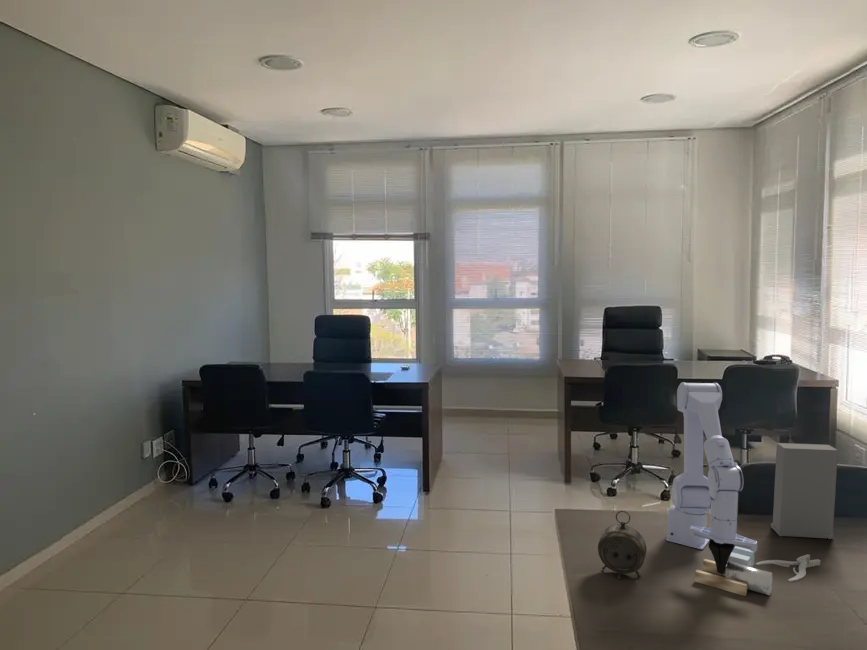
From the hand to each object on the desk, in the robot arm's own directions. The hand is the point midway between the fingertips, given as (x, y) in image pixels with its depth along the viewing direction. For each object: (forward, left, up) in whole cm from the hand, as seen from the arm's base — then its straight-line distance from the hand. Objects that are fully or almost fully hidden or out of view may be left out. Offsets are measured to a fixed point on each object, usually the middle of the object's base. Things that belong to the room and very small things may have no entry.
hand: (721, 571), depth 149 cm
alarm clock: (-20, -12, -2) cm, 23 cm away
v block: (0, +10, -2) cm, 10 cm away
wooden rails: (+1, 0, -2) cm, 2 cm away
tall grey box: (+11, +42, -2) cm, 44 cm away
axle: (+6, 0, -2) cm, 6 cm away
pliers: (+13, +18, -3) cm, 22 cm away
